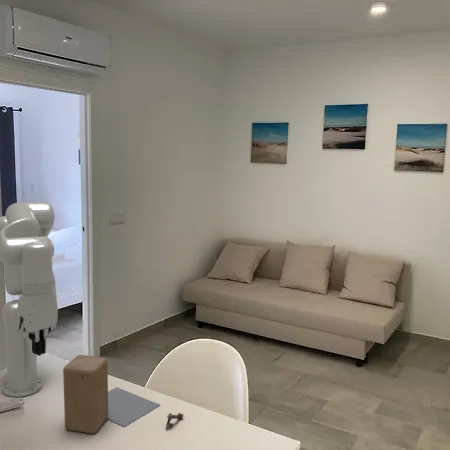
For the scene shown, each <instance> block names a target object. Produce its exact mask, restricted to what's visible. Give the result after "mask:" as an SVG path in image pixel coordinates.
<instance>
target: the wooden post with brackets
mask: <svg viewBox="0 0 450 450" xmlns="http://www.w3.org/2000/svg"><path fill="white" fill-rule="evenodd" d="M177 413H178V414H177V415H176V414H172V413H171V412H169V414H167V416H166V418H167V422H166V424H165V430H169V428H172V427H173V428H174V423H172V422H171V421H172V419H175V420H180V421H183V419H184V413H180V412H177Z"/></svg>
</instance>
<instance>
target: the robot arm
mask: <svg viewBox="0 0 450 450" xmlns="http://www.w3.org/2000/svg"><path fill="white" fill-rule="evenodd" d="M55 219H56V217H55V212H54V207H52V205H51V204H50V203H48V202H46V201H28V202H27V201H24V202H23V201H22V202H21V201H20V202H15V203H12V204H11V205H9V206H8V207H7V208H6V210H5V215H2V216H0V262H1V263H3V272H4V284H5V285H4V286H5V290H6V293H7V294H8V295H10V296H19V297H18V298H17V299H14V300H10V301H7V302H6V303H5V304H4V305H3V307H2V308H1V309H2V310H1V311H2V312H1V314H2V315H1V316H2V320H3V325H4V333H5V347H6V350H5V351H6V354H5V355H6V373H4V374H3V379H5V380H6V383H5V384H3V386H2V393H3V394H4V395H5V396H7V397H13V398H22V397H27V396H31V395H34V394H36V393H37V392H39V391H40V390H41V389H42V387H43V383H42V381H41V380H40V379H38V362H37V356H39V357H40V356H42V355H44V354H46V351H47V350H46V348H47V343H46V341H47V339H48V337H49V334H50V332H51V331H52V330H54V329H56V328H57V327H58V325H57V323H58V315H59V314H58V312H59V309H58V308H59V307H58V297H57V287H56V280H55V279H56V278H55V275H54V274H55V273H54V270H53V257H54V255H55V246H54V242H53V241H52V240H51V239H50V237H48V236H49V235H50V232H51V230H52V229H53V226H54V223H55Z"/></svg>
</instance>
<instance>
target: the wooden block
mask: <svg viewBox="0 0 450 450" xmlns="http://www.w3.org/2000/svg"><path fill="white" fill-rule="evenodd" d="M108 370H109V369H108V358H106V357H104V356H103V357H102V356H95V355H93V356H92V355H86V354H84V355H83V354H78V355H77V356H75V357H74V358H73V359H72V360H71V361H69V362H68V363H67V364H65V365H64V367H63V369H62V374H63V376H62V377H63V403H64V404H63V406H64V408H63V409H64V410H63V411H64V427H65V430H67V431H73V432H79V433H80V432H81V433H87V434H96V433H97V432H98V430H99V429H100V428H101V426H103V424H104V423H105V422H106V420H107V418H108V391H109V379H108V378H109V371H108Z"/></svg>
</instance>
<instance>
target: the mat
mask: <svg viewBox="0 0 450 450" xmlns="http://www.w3.org/2000/svg"><path fill="white" fill-rule="evenodd" d="M159 407H161V404H160V403H157V402H155V401H152V400H150V399H148V398H145V397H143V396H141V395H140V396H139V395H137V394H135V393H132V392H130V391H127V390H125V389H122V388H121V387H115V388H112V389H111V390H108V418H107V419H106V420H108V421H109V420H110V421H109V422H111V421H112V422H111V423H114V424H115V425H118V426H121V427H123V428H126V427H127V426H129V425H131V424H132V423H134V422H135V421H137V420H138V419H140V418H143V416H144V417H145V415H147V414H149V413H150V412H152V411H154V410H155V409H157V408H159Z"/></svg>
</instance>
